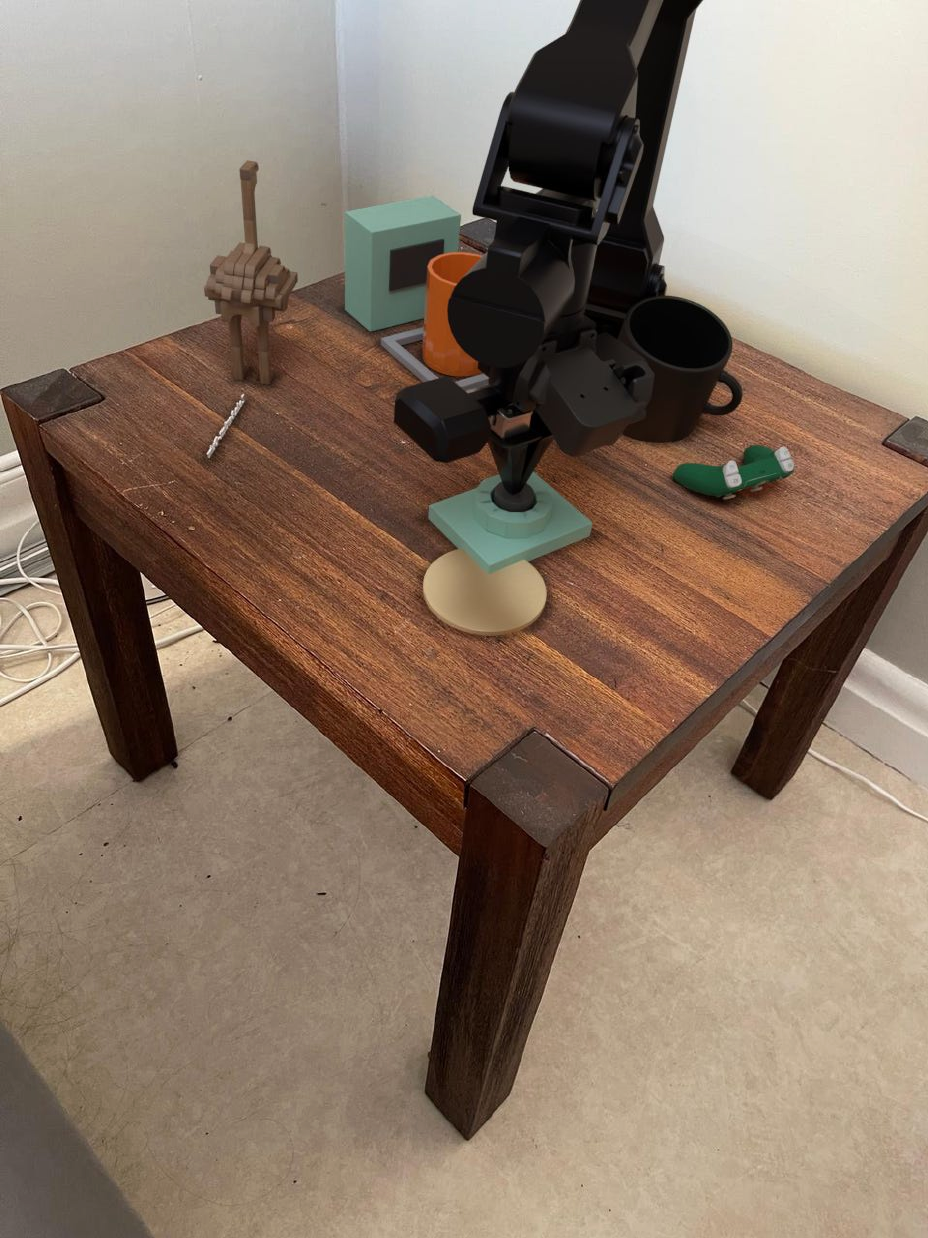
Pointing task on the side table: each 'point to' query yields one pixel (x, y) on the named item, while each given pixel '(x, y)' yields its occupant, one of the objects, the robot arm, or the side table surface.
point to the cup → (445, 315)
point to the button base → (508, 524)
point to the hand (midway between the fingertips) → (512, 490)
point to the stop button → (514, 499)
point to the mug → (678, 365)
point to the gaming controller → (737, 472)
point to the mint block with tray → (398, 270)
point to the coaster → (483, 594)
